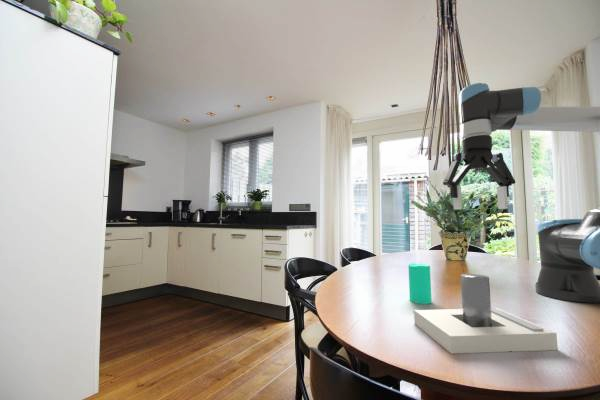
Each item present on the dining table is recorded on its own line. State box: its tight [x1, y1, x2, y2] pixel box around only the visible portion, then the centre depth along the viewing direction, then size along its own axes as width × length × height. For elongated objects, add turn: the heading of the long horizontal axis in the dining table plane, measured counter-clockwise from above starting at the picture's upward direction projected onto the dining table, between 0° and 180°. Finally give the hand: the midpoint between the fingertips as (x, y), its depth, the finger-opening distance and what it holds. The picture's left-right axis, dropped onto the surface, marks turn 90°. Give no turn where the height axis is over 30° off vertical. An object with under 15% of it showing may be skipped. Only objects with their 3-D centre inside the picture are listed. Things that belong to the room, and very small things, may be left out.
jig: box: [413, 307, 559, 354], centre depth 56 cm, size 20×14×3 cm
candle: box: [408, 262, 433, 304], centre depth 80 cm, size 6×6×12 cm
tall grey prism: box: [460, 273, 492, 327], centre depth 56 cm, size 5×5×12 cm
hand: (480, 209), depth 78 cm, fingers open, 13 cm apart
